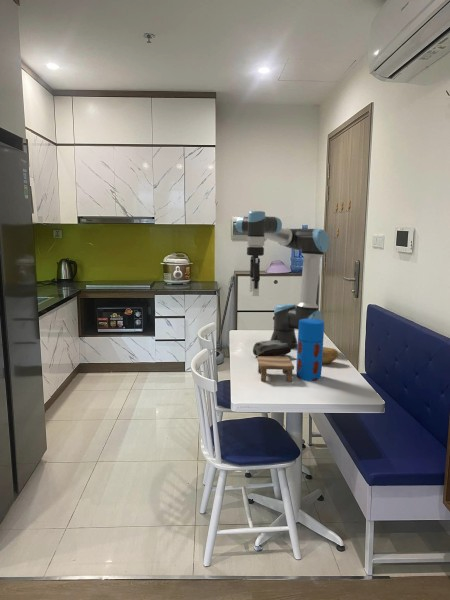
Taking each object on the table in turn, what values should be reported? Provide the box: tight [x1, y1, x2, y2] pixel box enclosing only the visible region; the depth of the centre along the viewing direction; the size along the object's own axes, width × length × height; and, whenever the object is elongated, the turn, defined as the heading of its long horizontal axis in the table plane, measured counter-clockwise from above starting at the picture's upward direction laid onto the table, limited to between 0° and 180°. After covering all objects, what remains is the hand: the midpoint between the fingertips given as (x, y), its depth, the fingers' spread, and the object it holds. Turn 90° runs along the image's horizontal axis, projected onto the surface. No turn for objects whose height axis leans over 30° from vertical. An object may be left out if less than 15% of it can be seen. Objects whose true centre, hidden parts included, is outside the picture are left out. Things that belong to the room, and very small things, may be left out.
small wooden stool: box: [256, 355, 295, 383], centre depth 189 cm, size 14×14×7 cm
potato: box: [322, 346, 339, 365], centre depth 211 cm, size 10×14×8 cm
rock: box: [252, 339, 292, 357], centre depth 218 cm, size 18×11×8 cm, turn 118°
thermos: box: [295, 319, 325, 382], centre depth 189 cm, size 11×11×25 cm
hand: (253, 293), depth 196 cm, fingers open, 13 cm apart
